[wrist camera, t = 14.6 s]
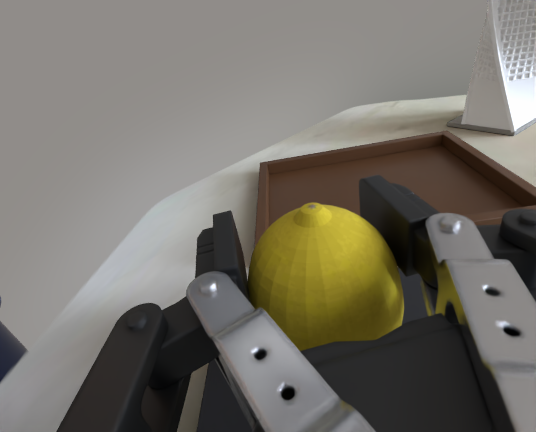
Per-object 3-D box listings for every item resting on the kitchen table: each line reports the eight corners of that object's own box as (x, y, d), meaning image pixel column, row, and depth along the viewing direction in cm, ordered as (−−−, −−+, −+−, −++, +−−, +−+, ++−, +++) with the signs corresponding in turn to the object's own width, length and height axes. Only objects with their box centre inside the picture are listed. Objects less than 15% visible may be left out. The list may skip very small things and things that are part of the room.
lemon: (414, 437, 11) (434, 259, 7) (260, 426, 12) (199, 270, 8) (387, 311, 16) (389, 160, 12) (277, 313, 17) (243, 176, 13)
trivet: (177, 573, 10) (171, 568, 10) (223, 296, 20) (221, 290, 20) (578, 558, 9) (585, 551, 9) (415, 272, 19) (416, 264, 19)
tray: (258, 269, 22) (253, 252, 21) (262, 175, 35) (260, 162, 35) (561, 227, 20) (568, 207, 19) (445, 144, 33) (447, 130, 33)
